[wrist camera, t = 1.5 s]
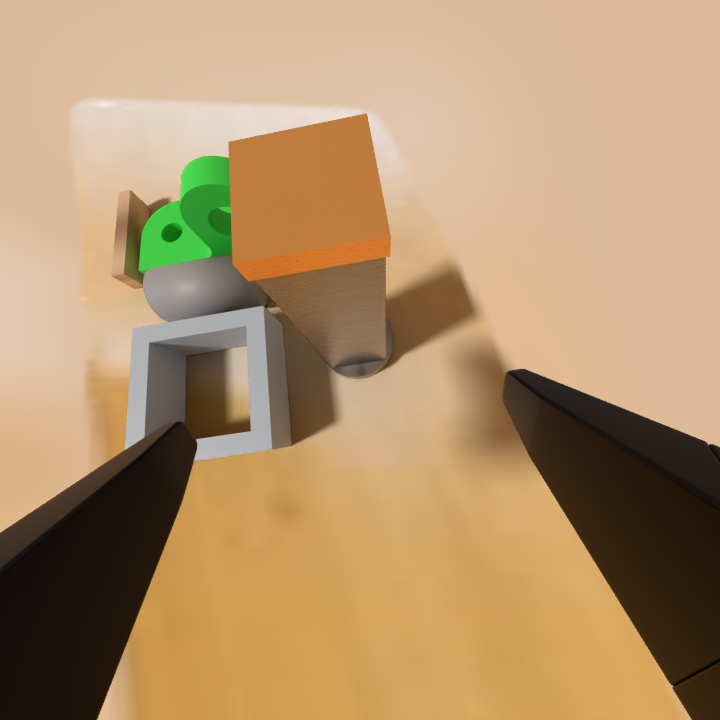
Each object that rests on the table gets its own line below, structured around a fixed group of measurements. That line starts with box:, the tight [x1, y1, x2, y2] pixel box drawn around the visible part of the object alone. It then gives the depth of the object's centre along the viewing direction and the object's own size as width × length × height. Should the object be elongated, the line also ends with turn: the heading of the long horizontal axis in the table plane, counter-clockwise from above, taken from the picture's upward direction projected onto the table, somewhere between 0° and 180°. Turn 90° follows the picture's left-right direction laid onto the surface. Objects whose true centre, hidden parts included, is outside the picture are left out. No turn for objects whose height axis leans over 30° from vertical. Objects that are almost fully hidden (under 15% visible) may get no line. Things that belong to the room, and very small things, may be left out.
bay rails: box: [112, 190, 150, 289], centre depth 23 cm, size 8×16×2 cm, turn 98°
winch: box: [125, 253, 292, 461], centre depth 19 cm, size 14×9×4 cm, turn 8°
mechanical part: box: [139, 156, 232, 274], centre depth 20 cm, size 12×6×8 cm, turn 97°
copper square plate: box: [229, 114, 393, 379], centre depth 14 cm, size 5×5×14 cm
